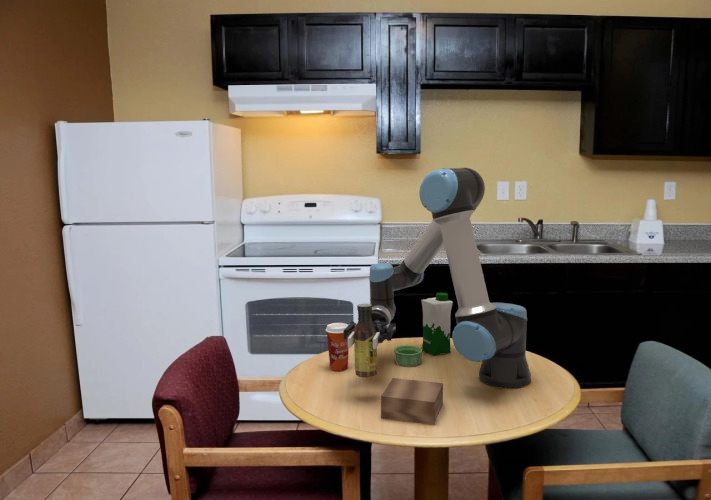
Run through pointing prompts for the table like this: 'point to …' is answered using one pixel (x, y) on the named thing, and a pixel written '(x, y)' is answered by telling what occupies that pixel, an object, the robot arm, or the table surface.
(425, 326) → the milk carton
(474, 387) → the table surface
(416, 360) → the ramekin
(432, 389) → the walnut block
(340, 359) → the paper cup
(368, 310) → the sauce bottle
